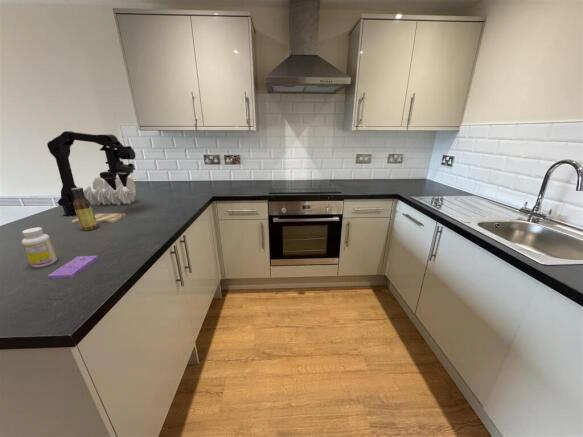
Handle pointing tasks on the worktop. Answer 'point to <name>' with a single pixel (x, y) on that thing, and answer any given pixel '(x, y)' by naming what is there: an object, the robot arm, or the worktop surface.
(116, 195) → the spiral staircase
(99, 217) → the beech cutting board
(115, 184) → the robot arm
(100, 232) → the worktop surface
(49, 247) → the supplement bottle
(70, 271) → the sponges
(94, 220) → the sauce bottle
